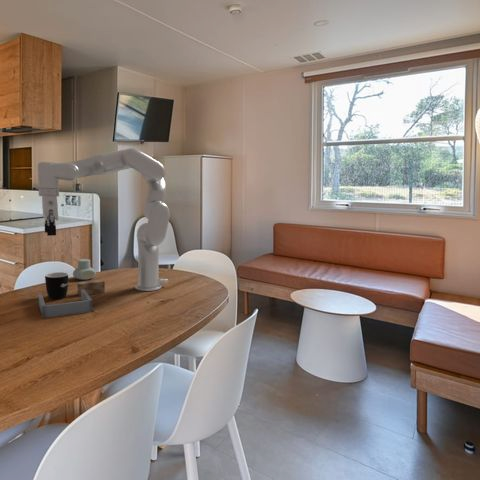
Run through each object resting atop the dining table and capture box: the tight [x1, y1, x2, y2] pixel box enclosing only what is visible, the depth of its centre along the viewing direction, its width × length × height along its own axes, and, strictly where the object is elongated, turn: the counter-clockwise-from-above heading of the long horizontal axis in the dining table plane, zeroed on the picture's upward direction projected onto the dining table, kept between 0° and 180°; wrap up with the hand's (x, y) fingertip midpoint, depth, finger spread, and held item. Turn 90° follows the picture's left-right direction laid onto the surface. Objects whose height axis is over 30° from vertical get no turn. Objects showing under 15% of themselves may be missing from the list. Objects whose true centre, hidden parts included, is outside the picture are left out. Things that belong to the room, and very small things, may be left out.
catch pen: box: [38, 289, 94, 319], centre depth 150 cm, size 17×17×4 cm
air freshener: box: [72, 258, 97, 281], centre depth 195 cm, size 11×8×10 cm
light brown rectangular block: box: [76, 279, 106, 297], centre depth 170 cm, size 11×4×6 cm, turn 122°
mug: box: [44, 271, 69, 301], centre depth 164 cm, size 12×9×10 cm
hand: (50, 233), depth 157 cm, fingers open, 9 cm apart
